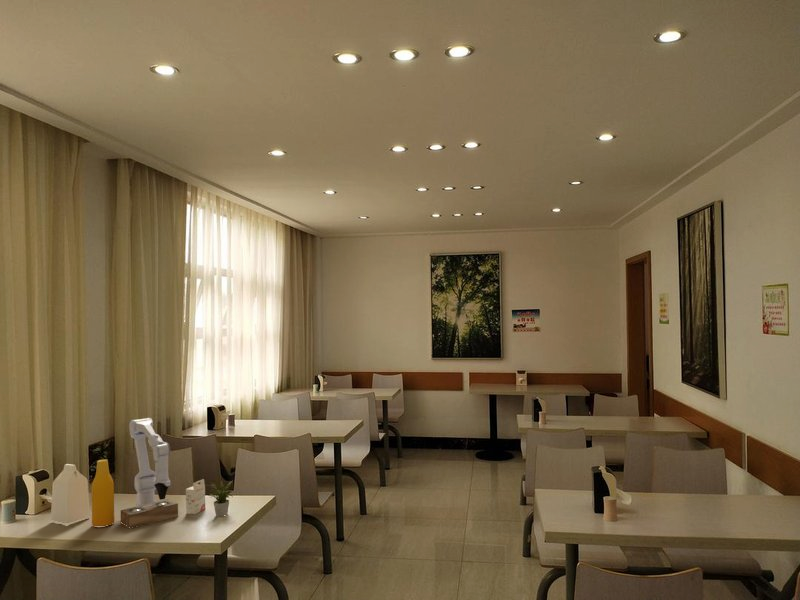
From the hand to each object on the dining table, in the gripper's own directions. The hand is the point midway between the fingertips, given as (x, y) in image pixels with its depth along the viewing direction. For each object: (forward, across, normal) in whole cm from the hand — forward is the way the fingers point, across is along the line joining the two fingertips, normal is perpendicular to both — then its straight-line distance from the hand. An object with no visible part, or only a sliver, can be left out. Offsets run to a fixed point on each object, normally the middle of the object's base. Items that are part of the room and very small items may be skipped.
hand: (162, 498), depth 282 cm
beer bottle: (+8, -10, -23) cm, 26 cm away
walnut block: (+8, 0, -6) cm, 10 cm away
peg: (+8, 0, 0) cm, 8 cm away
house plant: (+8, +20, +18) cm, 28 cm away
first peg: (+8, 0, -12) cm, 15 cm away
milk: (+9, -29, -31) cm, 43 cm away
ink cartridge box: (+8, +5, +14) cm, 17 cm away
